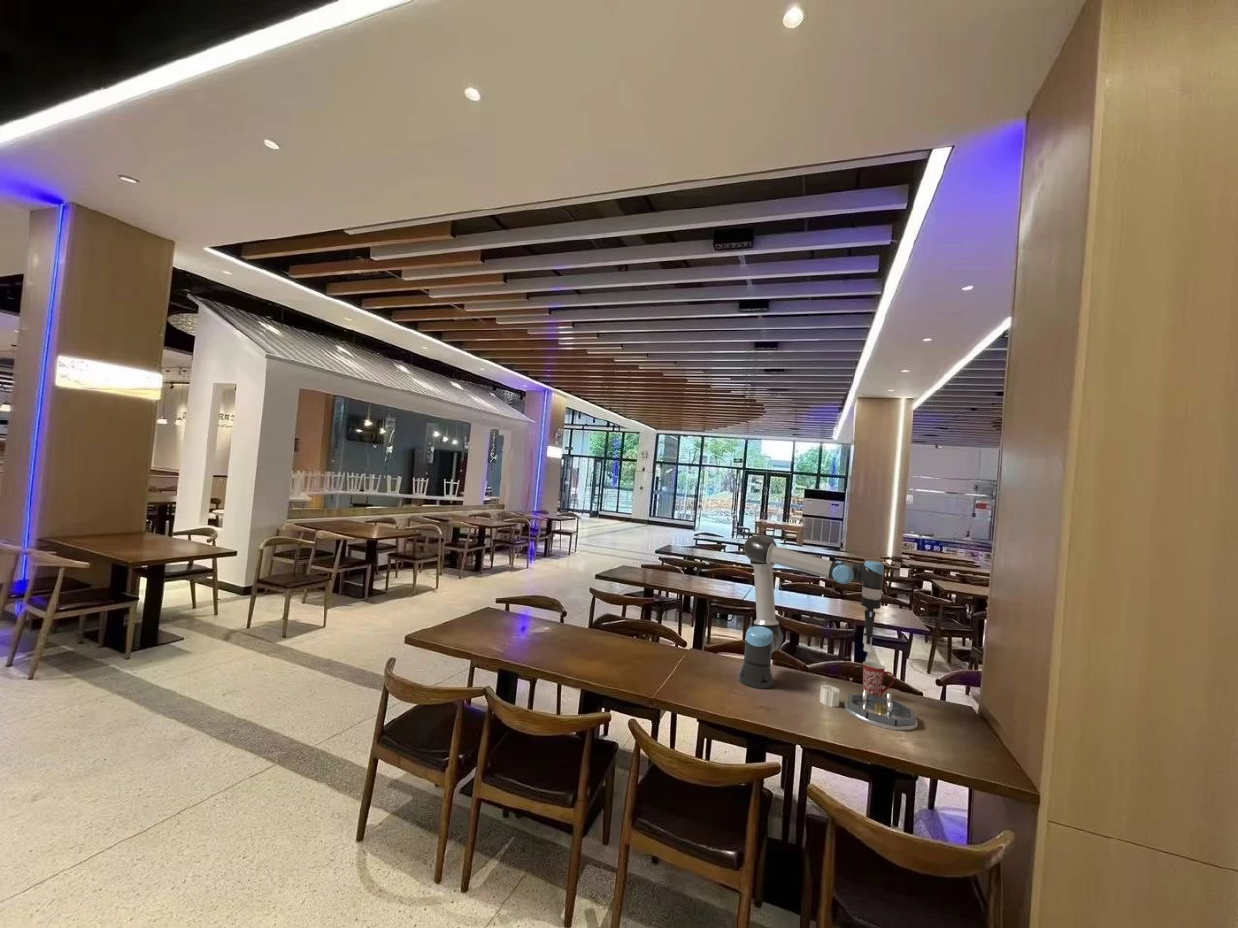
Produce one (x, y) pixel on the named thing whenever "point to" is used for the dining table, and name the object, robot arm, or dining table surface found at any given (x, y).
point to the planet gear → (829, 695)
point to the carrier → (881, 711)
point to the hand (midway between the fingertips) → (866, 647)
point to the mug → (874, 678)
